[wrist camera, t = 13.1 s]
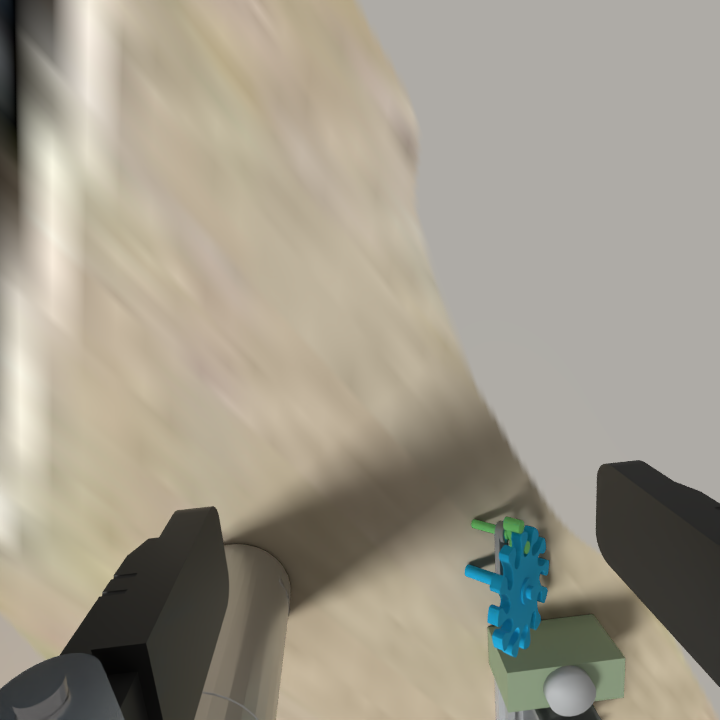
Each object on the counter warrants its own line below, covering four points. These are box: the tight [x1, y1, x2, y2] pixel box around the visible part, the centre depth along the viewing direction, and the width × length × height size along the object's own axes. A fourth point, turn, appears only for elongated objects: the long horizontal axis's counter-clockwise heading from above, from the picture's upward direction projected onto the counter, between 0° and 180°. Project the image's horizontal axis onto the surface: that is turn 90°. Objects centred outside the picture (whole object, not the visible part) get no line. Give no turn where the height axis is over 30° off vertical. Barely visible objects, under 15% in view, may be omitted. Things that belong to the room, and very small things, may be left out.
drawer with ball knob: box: [488, 614, 625, 720], centre depth 43 cm, size 10×13×6 cm
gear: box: [465, 517, 549, 658], centre depth 40 cm, size 11×6×10 cm
